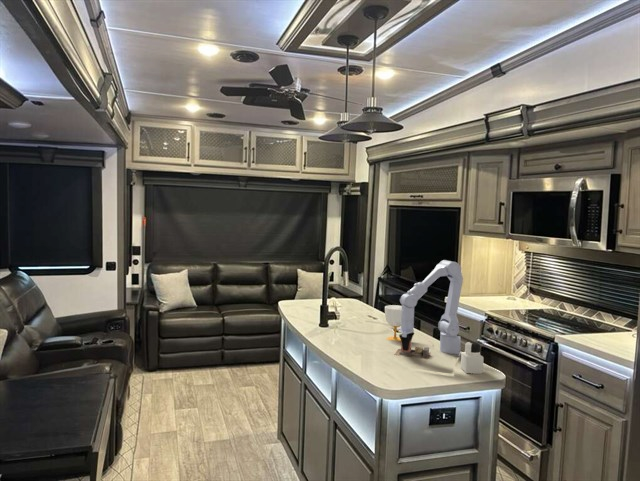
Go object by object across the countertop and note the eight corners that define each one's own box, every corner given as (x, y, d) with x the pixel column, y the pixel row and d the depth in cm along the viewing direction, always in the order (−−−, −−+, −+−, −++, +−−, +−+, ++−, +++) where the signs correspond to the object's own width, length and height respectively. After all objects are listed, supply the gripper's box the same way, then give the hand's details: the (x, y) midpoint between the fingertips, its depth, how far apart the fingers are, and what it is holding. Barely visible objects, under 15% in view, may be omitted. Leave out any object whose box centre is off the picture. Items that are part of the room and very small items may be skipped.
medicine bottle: (476, 368, 202) (478, 340, 202) (483, 374, 195) (484, 345, 195) (460, 368, 202) (461, 340, 201) (466, 373, 195) (467, 345, 194)
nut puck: (423, 353, 217) (423, 347, 217) (422, 356, 214) (422, 349, 214) (415, 353, 219) (415, 346, 218) (414, 355, 215) (414, 348, 215)
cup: (406, 343, 239) (407, 310, 239) (382, 341, 242) (384, 308, 241) (406, 337, 251) (407, 305, 250) (384, 335, 253) (385, 304, 252)
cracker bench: (430, 355, 220) (431, 346, 220) (427, 361, 210) (427, 352, 209) (398, 351, 225) (399, 342, 225) (393, 357, 215) (394, 348, 215)
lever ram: (411, 351, 220) (411, 340, 219) (409, 354, 216) (409, 342, 215) (402, 350, 221) (403, 339, 221) (400, 353, 217) (401, 341, 217)
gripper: (401, 316, 226) (400, 344, 226) (395, 322, 212) (394, 351, 213) (416, 317, 223) (415, 345, 224) (411, 323, 210) (410, 354, 210)
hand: (406, 349), depth 218 cm, fingers closed on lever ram, 4 cm apart
